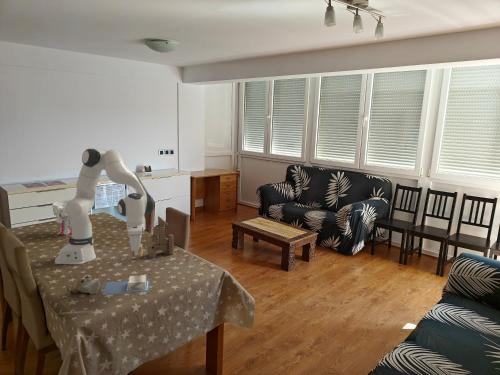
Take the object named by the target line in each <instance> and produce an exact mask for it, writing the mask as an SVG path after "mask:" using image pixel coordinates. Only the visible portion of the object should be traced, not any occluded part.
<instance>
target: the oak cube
mask: <svg viewBox="0 0 500 375" xmlns="http://www.w3.org/2000/svg"><path fill="white" fill-rule="evenodd" d="M130 251H131V252H130V253H131V258H139V257H140V258H142V257H143V243H140V247H139V250H138V255H135V254H134V250H131V249H130Z"/></svg>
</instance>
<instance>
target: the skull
mask: <svg viewBox="0 0 500 375" xmlns="http://www.w3.org/2000/svg"><path fill="white" fill-rule="evenodd" d="M70 200H71V199H65V200H58V201H54V202H52V211H53V216H55V217H56V218H55V219H56V220H55V221H56V223H57V224H59V226H60V231H59V232H57V234H56V235H57V236H58V235H61V237H63V236H64V235H65V236H66V235H67V236H68V235H69V234H70V236H71V235H72V228H71V222H70V219H69V216H68V215H67V214H66V212H65V207H66V205H67V203H68V202H69V201H70Z"/></svg>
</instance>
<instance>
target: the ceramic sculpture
mask: <svg viewBox="0 0 500 375" xmlns="http://www.w3.org/2000/svg"><path fill="white" fill-rule="evenodd" d="M76 283H77V284H76V286H75V287H71V288H69V289H67V291H68V293H71V294H80V293H89V294H90V295H93V294H96V293H97V292H99V290H100V287H101V285H100V281H99V280H93V278H92V277H90V276H85V277H82V278H80V279H79V280H78V281H77V282H76Z"/></svg>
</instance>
